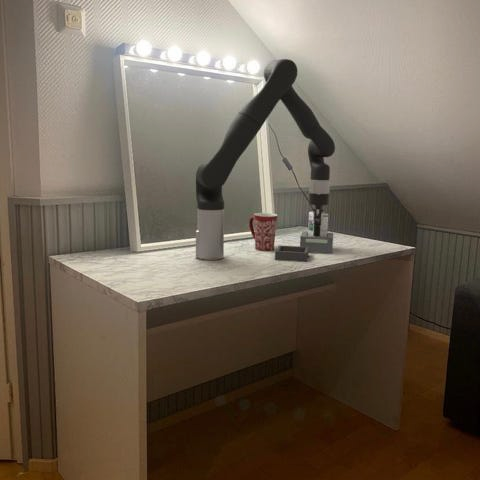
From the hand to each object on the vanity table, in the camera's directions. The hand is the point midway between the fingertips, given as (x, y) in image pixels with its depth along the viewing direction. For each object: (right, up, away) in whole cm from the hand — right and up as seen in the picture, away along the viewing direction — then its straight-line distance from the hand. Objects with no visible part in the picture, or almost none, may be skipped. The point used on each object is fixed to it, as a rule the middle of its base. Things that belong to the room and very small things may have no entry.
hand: (317, 234), depth 189 cm
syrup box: (0, -6, +1) cm, 6 cm away
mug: (-21, -6, +2) cm, 22 cm away
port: (0, -6, +1) cm, 6 cm away
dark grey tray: (-11, -8, -13) cm, 19 cm away
